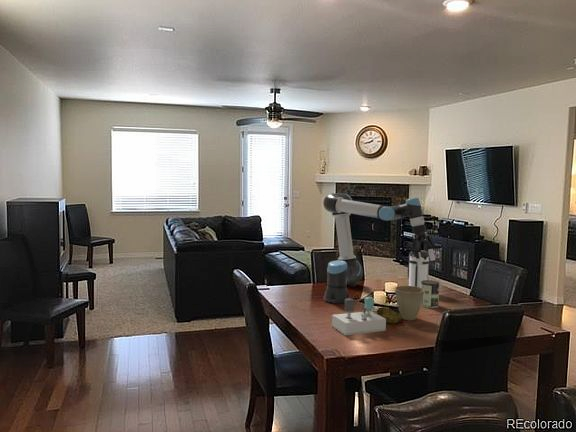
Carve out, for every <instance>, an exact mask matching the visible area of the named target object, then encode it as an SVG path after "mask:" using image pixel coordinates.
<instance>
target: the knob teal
mask: <svg viewBox="0 0 576 432" xmlns="http://www.w3.org/2000/svg"><path fill="white" fill-rule="evenodd" d="M374 301H375V299H374V297H372V296H365V297H364V306H363V307H364V309H365V310H366V309H367V310H366V312H367V317H370V311H372V310H373V309H374Z"/></svg>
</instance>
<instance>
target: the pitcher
mask: <svg viewBox="0 0 576 432" xmlns="http://www.w3.org/2000/svg"><path fill="white" fill-rule="evenodd" d="M354 244H355V243H353V242H352V246H353V254H354V255H355V256H357V255H356V254H357V250H358V249H359V248H360V249H361V248H362V247H361V246H360V245H354ZM335 254H336V256H335V258H336V261H337V260H338V258H339V254H340V253H339V249H338V250H337V251H336V253H335ZM360 266H361V272H360V274H359V275H358V276H357V277H356V278H354V279H351V280H347V285H348V287H356V285H358V283H359V282H361V280H362V278H363V276H364V269H363V266H362V265H361V264H360Z"/></svg>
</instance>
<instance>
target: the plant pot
mask: <svg viewBox="0 0 576 432" xmlns="http://www.w3.org/2000/svg"><path fill="white" fill-rule="evenodd" d="M394 289H395V296H396V297H395V298H396V299H395V300H396V303H397V309H398V313H399V314H400V315H401V316H402V320H405V321H415V320H417V317H418V314H419V312H420V309H421V307H422V306H421V304H422V300H423V295H424V289H422V288H420V287H415V286H408V285H398V286H396V287H394Z"/></svg>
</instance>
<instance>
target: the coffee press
mask: <svg viewBox="0 0 576 432" xmlns="http://www.w3.org/2000/svg"><path fill="white" fill-rule="evenodd" d="M419 252H420V255H421V259H422V264H419V265H418V264H417V260H416V256H415V253H413V252H412V250H411V251H410V252H409V253H408V256H409V258H408V261H407V262H408V263H407V278H408V282H407V283H408V284H407V286H415V287H420V288H421V281H424V280H429V270H430V256H429V252H428V251H426V250H422V247H421V246H420V248H419Z"/></svg>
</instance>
